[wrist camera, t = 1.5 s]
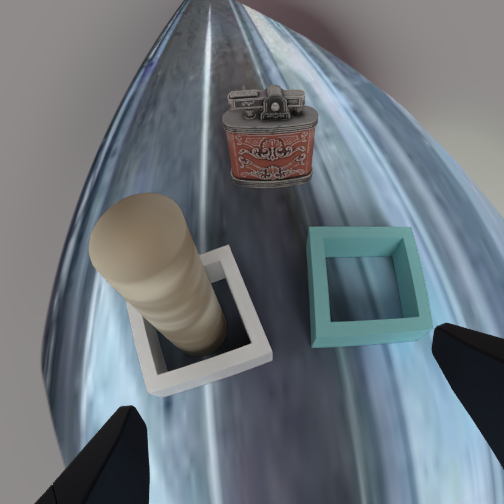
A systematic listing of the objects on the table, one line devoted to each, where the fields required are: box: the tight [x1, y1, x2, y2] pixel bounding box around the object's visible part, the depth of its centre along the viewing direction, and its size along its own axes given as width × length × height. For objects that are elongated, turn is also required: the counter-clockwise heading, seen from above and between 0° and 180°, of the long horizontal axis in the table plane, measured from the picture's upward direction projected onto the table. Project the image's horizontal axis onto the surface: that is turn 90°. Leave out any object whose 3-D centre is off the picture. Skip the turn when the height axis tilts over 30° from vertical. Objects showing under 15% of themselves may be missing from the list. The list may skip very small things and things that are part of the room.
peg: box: [89, 193, 227, 356], centre depth 18 cm, size 4×4×13 cm
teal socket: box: [306, 227, 433, 348], centre depth 23 cm, size 9×9×3 cm
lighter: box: [222, 85, 318, 188], centre depth 27 cm, size 8×3×10 cm, turn 91°
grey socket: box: [126, 245, 273, 398], centre depth 22 cm, size 9×9×3 cm
